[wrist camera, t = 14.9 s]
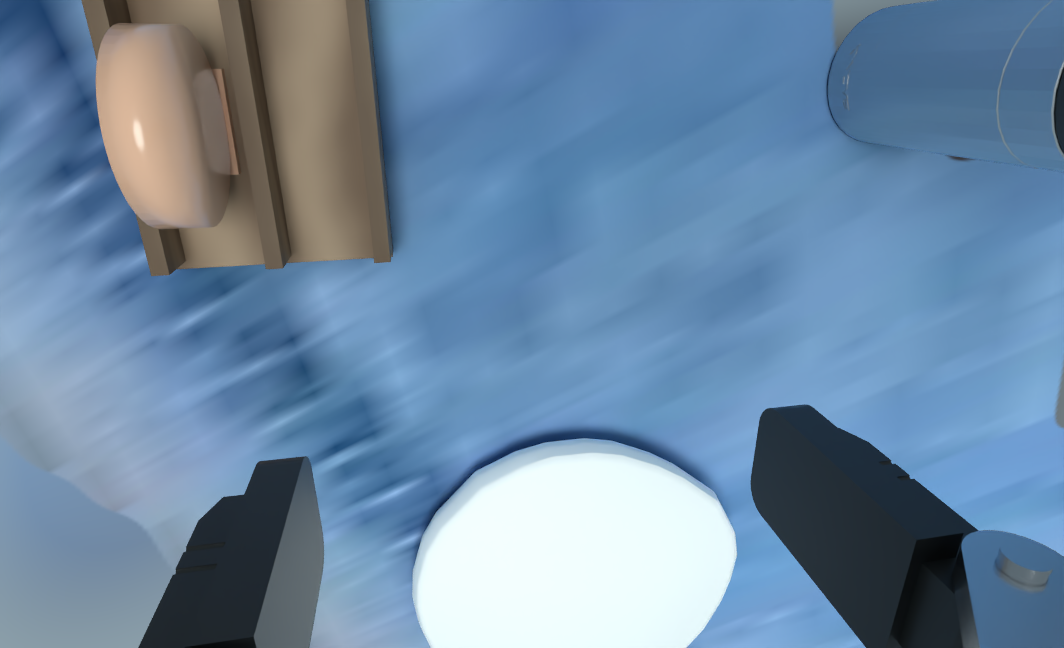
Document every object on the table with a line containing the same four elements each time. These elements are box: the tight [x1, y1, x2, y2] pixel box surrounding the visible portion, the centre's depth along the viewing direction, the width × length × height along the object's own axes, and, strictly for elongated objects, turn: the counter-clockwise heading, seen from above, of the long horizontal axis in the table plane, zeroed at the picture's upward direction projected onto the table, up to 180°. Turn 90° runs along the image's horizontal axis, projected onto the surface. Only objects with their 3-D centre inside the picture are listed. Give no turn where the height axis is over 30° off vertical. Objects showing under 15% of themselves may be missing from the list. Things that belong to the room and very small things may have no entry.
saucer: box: [96, 23, 241, 229], centre depth 32 cm, size 3×10×11 cm, turn 0°
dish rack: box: [82, 0, 393, 276], centre depth 37 cm, size 14×18×4 cm
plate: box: [412, 438, 737, 648], centre depth 54 cm, size 28×6×27 cm
